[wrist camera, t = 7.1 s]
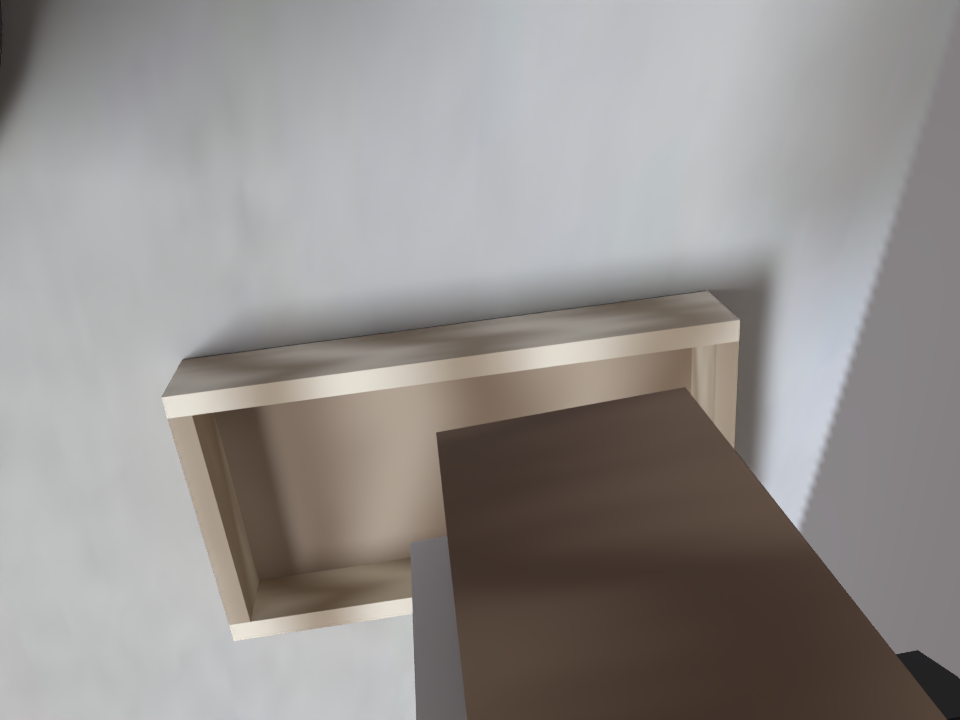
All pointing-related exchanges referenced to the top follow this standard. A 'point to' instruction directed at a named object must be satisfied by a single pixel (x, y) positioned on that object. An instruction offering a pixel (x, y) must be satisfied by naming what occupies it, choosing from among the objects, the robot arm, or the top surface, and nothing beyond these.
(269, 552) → the open wooden box
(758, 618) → the tan wooden block
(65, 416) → the top surface
